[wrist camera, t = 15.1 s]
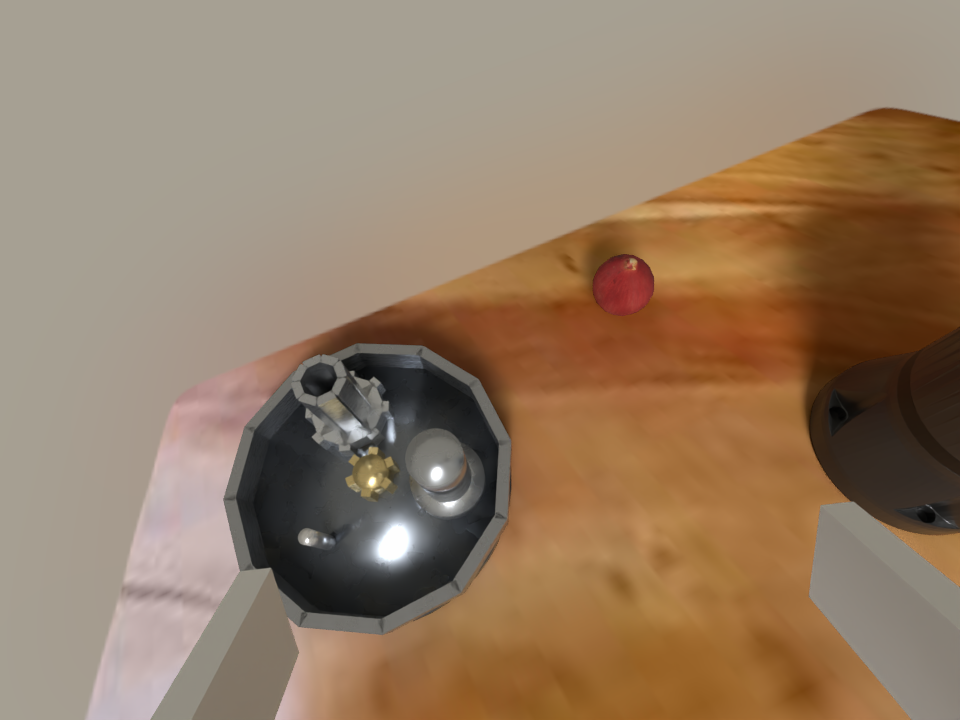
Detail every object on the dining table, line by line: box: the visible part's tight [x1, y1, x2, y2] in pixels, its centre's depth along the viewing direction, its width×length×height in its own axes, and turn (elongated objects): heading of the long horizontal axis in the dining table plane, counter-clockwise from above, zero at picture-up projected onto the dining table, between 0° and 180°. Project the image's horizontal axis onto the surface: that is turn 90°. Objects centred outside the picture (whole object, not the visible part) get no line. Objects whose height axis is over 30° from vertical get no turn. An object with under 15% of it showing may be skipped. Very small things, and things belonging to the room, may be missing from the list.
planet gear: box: [291, 354, 394, 457], centre depth 42 cm, size 8×8×9 cm
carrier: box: [223, 343, 512, 635], centre depth 40 cm, size 24×24×10 cm
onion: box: [593, 254, 654, 316], centre depth 48 cm, size 6×6×8 cm
